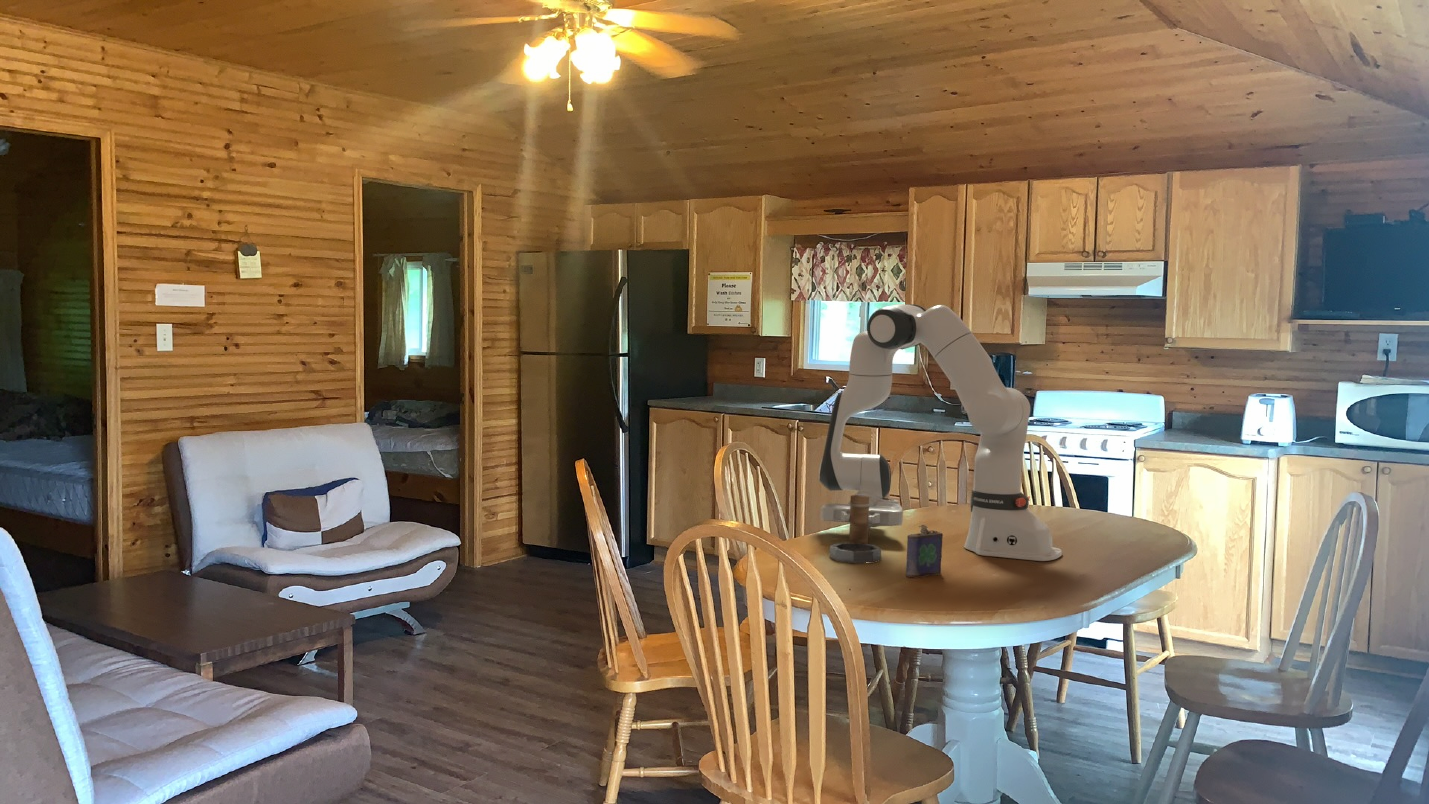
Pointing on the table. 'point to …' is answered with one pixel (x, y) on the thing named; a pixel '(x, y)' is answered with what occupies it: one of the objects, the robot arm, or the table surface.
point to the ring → (855, 552)
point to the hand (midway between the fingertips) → (858, 519)
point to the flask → (924, 553)
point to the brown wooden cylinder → (859, 519)
